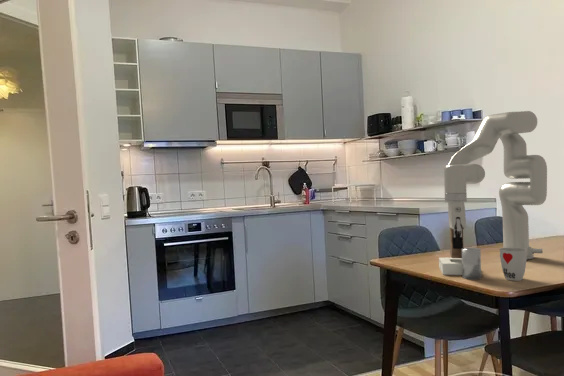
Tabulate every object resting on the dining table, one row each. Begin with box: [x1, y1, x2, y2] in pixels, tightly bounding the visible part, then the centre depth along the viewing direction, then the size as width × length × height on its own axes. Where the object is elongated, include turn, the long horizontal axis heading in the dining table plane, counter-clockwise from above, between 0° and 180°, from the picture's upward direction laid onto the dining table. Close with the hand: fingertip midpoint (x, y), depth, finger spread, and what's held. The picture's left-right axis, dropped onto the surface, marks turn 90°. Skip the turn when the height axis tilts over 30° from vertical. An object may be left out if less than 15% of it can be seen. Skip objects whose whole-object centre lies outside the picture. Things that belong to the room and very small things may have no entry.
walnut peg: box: [449, 225, 464, 258], centre depth 160 cm, size 4×4×12 cm
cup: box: [499, 247, 528, 282], centre depth 146 cm, size 8×8×10 cm
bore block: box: [438, 257, 462, 276], centre depth 160 cm, size 12×12×4 cm
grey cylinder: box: [461, 247, 482, 281], centre depth 150 cm, size 6×6×10 cm
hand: (456, 247), depth 160 cm, fingers closed on walnut peg, 4 cm apart
